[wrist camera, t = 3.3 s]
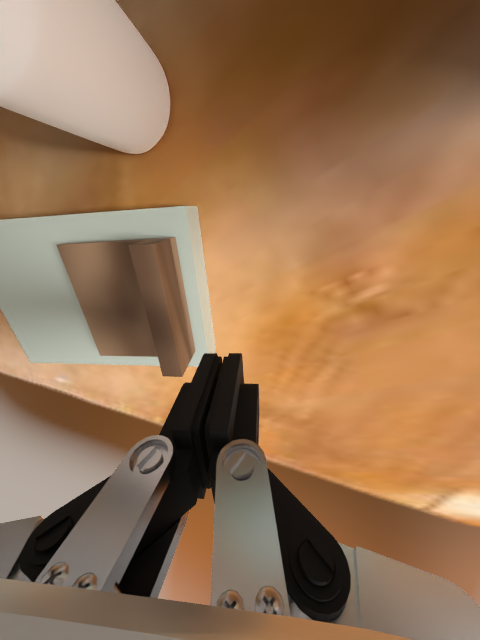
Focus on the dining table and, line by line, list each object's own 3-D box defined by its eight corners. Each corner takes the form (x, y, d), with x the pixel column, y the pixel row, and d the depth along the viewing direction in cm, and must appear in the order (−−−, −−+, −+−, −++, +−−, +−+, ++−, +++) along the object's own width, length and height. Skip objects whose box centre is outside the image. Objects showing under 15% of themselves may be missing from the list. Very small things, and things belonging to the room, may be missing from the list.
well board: (197, 205, 19) (185, 205, 16) (216, 349, 25) (209, 366, 22) (-9, 221, 21) (-48, 223, 19) (53, 347, 28) (30, 362, 25)
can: (122, 172, 18) (-85, 122, 8) (66, 74, 16) (-340, -192, 5) (189, 126, 17) (40, -25, 6) (138, 8, 14) (-265, -598, 4)
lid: (175, 237, 17) (153, 243, 14) (195, 351, 21) (182, 376, 18) (66, 243, 18) (22, 251, 15) (106, 349, 22) (79, 373, 19)
